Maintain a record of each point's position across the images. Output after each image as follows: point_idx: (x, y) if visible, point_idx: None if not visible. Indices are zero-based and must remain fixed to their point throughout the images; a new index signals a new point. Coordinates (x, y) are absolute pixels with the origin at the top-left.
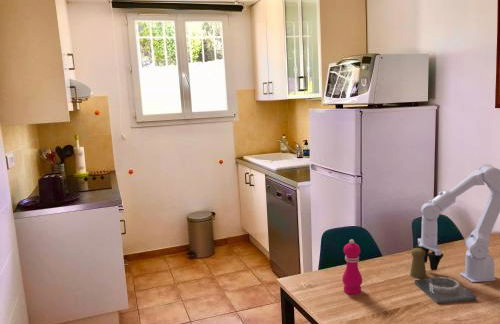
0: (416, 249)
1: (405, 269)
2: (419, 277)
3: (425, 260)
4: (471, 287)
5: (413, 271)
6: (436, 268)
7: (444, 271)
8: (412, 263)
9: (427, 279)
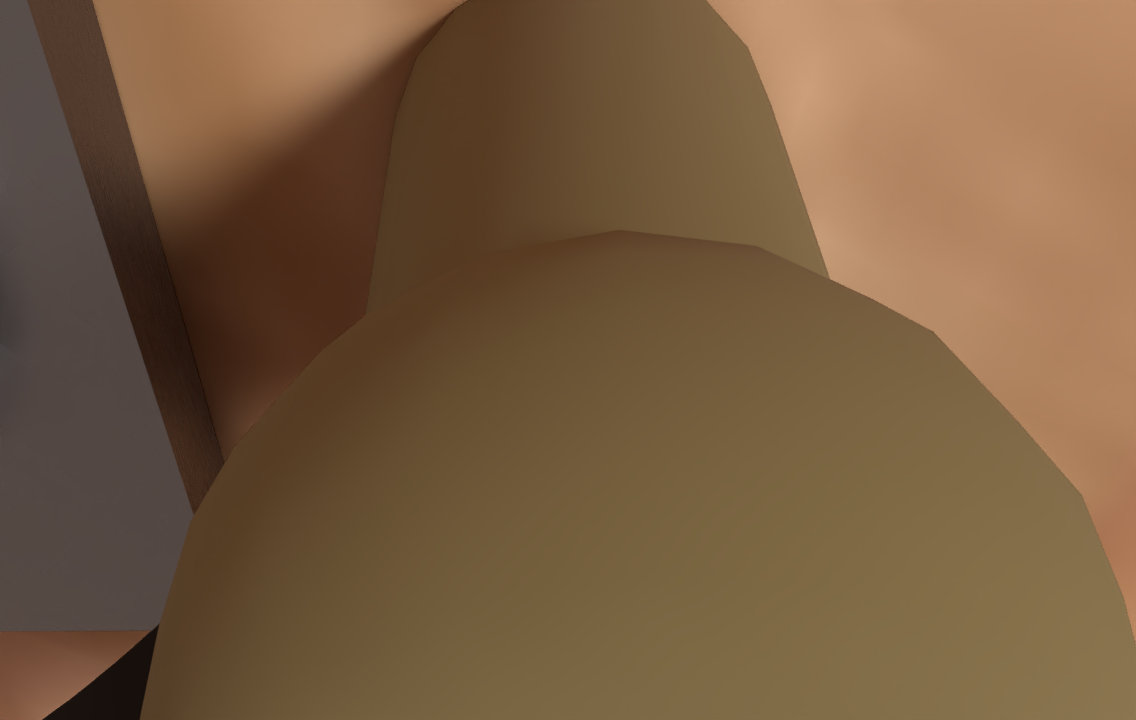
0: None
1: (1019, 18)
2: (398, 117)
3: None
4: (30, 703)
5: (507, 26)
6: None
7: None
8: (623, 98)
9: (58, 193)
